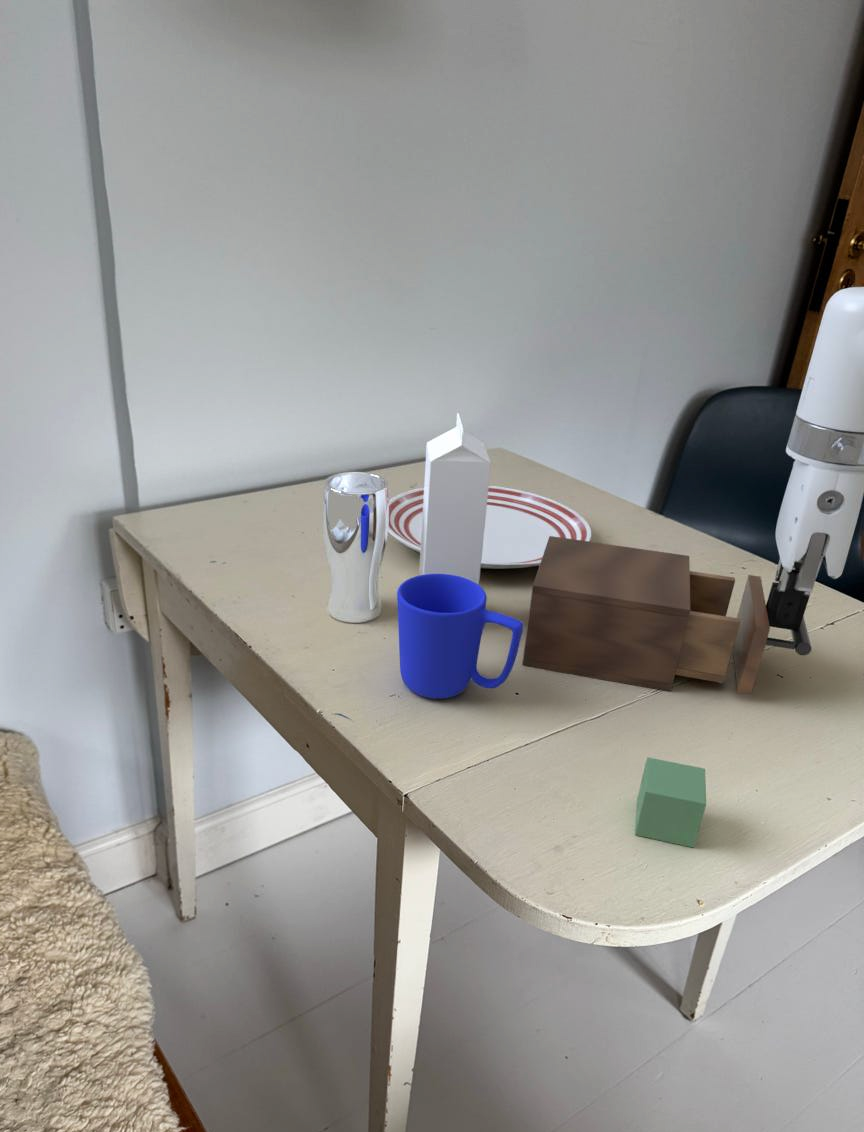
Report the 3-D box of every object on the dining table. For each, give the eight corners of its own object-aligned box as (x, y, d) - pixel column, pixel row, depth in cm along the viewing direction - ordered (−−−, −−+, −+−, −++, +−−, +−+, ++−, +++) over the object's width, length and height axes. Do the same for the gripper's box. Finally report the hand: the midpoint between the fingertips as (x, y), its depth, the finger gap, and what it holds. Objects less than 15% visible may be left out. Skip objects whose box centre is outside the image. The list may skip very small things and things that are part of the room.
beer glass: (359, 631, 93) (362, 499, 85) (310, 611, 96) (308, 482, 89) (397, 608, 98) (403, 481, 90) (349, 589, 101) (351, 466, 94)
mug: (494, 730, 78) (505, 635, 73) (377, 691, 83) (381, 599, 78) (527, 687, 85) (539, 596, 79) (416, 653, 89) (422, 565, 84)
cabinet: (672, 631, 95) (689, 555, 91) (670, 691, 85) (690, 610, 80) (539, 609, 99) (549, 535, 94) (522, 665, 88) (532, 585, 84)
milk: (419, 630, 94) (430, 429, 83) (417, 603, 99) (426, 411, 88) (476, 630, 94) (494, 430, 83) (470, 604, 99) (486, 412, 88)
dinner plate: (487, 488, 131) (489, 467, 130) (632, 552, 113) (637, 529, 111) (338, 528, 116) (338, 505, 115) (477, 609, 98) (480, 583, 96)
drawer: (788, 645, 92) (807, 583, 88) (800, 703, 82) (823, 636, 78) (614, 617, 96) (626, 556, 92) (607, 669, 86) (619, 604, 83)
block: (693, 811, 70) (705, 768, 68) (693, 848, 66) (706, 803, 64) (637, 799, 71) (647, 756, 69) (634, 835, 67) (645, 791, 65)
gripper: (901, 474, 69) (832, 670, 78) (867, 422, 81) (811, 597, 90) (800, 462, 70) (744, 655, 80) (781, 413, 83) (735, 585, 92)
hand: (780, 624), depth 85 cm, fingers closed
